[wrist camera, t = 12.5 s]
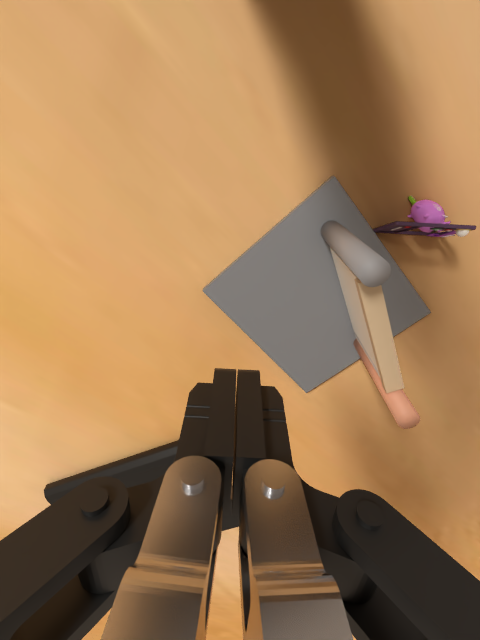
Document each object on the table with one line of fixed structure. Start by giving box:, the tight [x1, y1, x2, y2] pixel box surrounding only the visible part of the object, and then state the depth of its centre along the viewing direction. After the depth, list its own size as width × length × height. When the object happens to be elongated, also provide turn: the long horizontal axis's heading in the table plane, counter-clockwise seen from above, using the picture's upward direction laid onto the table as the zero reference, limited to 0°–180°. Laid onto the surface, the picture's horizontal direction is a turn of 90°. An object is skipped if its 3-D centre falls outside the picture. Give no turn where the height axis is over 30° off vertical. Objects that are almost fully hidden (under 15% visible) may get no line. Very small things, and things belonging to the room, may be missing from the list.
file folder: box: [44, 440, 239, 531], centre depth 67 cm, size 33×4×24 cm
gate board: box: [203, 176, 431, 429], centre depth 40 cm, size 24×22×17 cm
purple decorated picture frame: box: [372, 196, 476, 237], centre depth 40 cm, size 7×5×9 cm
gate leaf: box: [330, 247, 404, 393], centre depth 40 cm, size 14×2×13 cm, turn 22°
